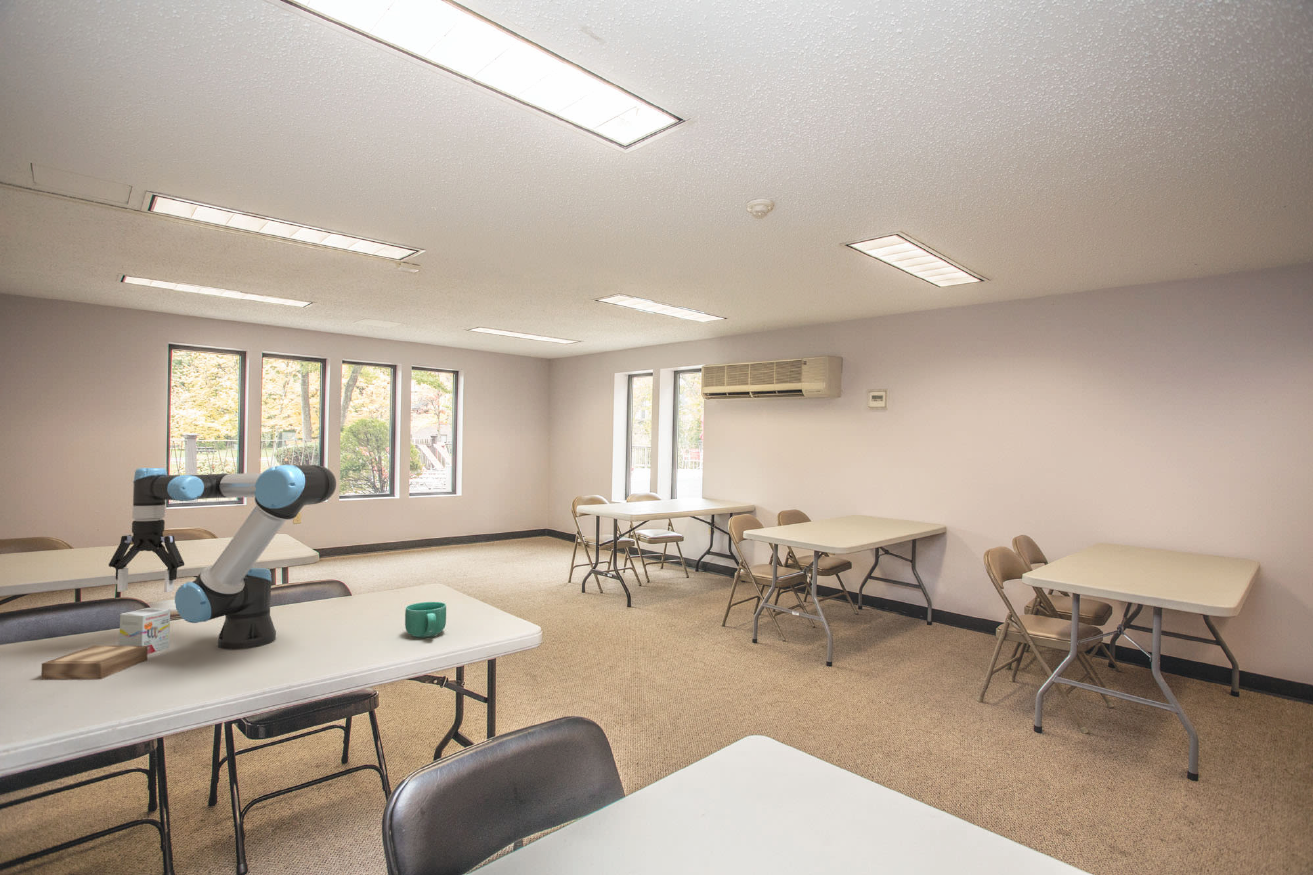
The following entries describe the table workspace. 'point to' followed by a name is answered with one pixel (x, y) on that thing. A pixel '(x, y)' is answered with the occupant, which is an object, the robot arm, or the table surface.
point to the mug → (425, 619)
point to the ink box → (145, 629)
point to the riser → (94, 662)
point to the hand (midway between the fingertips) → (145, 591)
